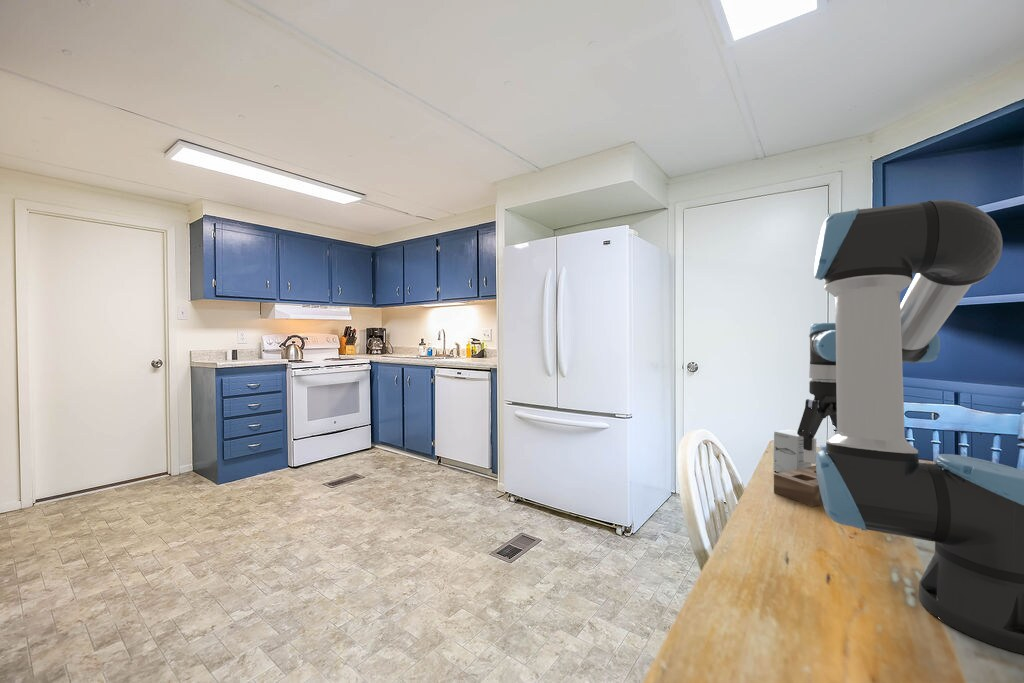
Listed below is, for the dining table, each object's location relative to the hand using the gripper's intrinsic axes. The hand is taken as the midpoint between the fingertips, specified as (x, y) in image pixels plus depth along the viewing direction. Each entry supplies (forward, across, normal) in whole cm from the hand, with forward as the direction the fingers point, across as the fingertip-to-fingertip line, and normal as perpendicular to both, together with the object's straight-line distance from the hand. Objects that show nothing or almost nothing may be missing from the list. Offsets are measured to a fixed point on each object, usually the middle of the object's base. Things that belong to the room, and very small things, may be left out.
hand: (825, 459), depth 112 cm
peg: (+9, 0, 0) cm, 9 cm away
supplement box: (+9, +6, +13) cm, 17 cm away
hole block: (+9, -4, 0) cm, 10 cm away
